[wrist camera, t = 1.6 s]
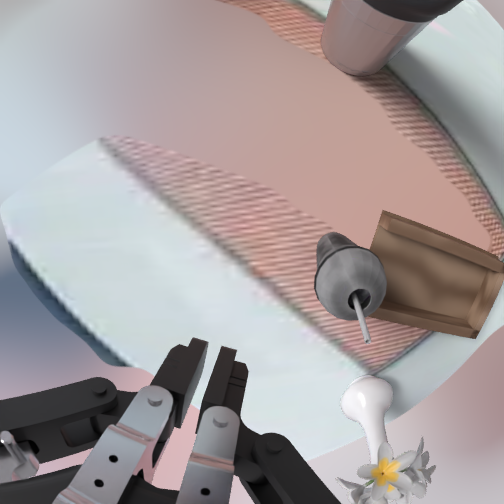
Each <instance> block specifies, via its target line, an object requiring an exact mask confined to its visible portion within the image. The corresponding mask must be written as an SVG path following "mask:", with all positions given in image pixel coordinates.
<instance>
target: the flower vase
mask: <svg viewBox="0 0 504 504" xmlns="http://www.w3.org/2000/svg"><path fill="white" fill-rule="evenodd" d="M392 399H393V390H392V387H391V385H390V384H389V383H388V382H387V381H385V380H384V379H381V378H377V377H375V376H372V375H365V376H361V377H358V378H356V379H354V380H353V381H352V382H351V383H350V384H349V386H348V388H347V389H346V390H345V392H344V393H343V395H342V397H341V399H340V407H341V410H342V412H343V414H344V415H345V416H346V417H347V418H348V419H350V420H352V421H355V422H358V423H359V424H360V425H361V427H362V428H363V430H364V433H365V436H366V440H367V443H368V447H369V452H370V464H367V465H363V466H361V467H360V468H358V470H357V475H358V476H359V477H360V478H362V479H366V480H370V481H369V482H367V483H366V484H364V485H359V484H356V483H351V482H348V481H345V480H343V479H340V478H338V477H337V478H338V479H336V481H337V483H338V484H339V485H340V486H342V487H343V488H344V489H347V490H350V489H352V490H350V491H349V492H348V493H347V498H348V500H349V502H350V503H351V504H388V503H390V502H392V501H394V500H395V501H396V504H411V501H412V499H413V495H415V496H416V497H418V498H423V497H424V496H425V494H426V487H427V483H426V481H427V482H428V483H431V478H430V475H431V474H432V473H433V472H434V470H435V468H436V466H435V465H434V466H432V467H430V468H428V469H427V470H426V469H425V468H426V465H427V463H428V461H429V453H428V451H426V452H424V453H423V454H422V455H421V453H422V451H423V445H424V442H423V437H422V438H421V442H420V445H419V448H418V450H417V453H416V452H415V451H408V452H404V453H403V454H401V455H399V456H398V457H396V458H395V459H394V458H393V450H392V447H391V446H390V444H389V443H388V441H387V436H386V431H385V425H384V416H385V413H386V412H387V410H388V409H389V407H390V405H391V403H392ZM410 464H411V465H410ZM409 465H410V466H409ZM408 466H409V467H408ZM405 471H406V472H405ZM403 472H405V473H403ZM414 474H415V475H414ZM418 481H422V482H423V483H421V482H418ZM373 482H374V483H373ZM371 483H373V486H372V487H371V488H365V487H366V486H368V485H370V484H371Z"/></svg>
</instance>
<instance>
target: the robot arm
mask: <svg viewBox="0 0 504 504" xmlns="http://www.w3.org/2000/svg"><path fill="white" fill-rule="evenodd" d="M461 1H463V0H331V3H330V7H329V11H328V14H327V18H326V22H325V25H324V29H323V33H322V37H321V46H322V50H323V52H324V54H325V56H326V58H327V59H328V60H329V61H330V62H331V63H332V64H333V65H334V66H335V67H337V68H338V69H340V70H341V71H343V72H346V73H348V74H352V75H356V76H366V75H371V74H374V73H376V72H377V71H379V70H380V69H381V68H382V67H383V66H384V65H385V64H386V63H388V62H389V61H390V60H391V59H392V58H393V57H394V56H395V55H396V54H397V53H398V52H399V51H400V50H401V49H403V48H404V47H405V46H406V45H407V44H408V43H409V42H410V41H411V40H412V39H413V38H414V37H415V36H417V35H418V34H419V33H420V32H421V31H422V30H423V29H424V28H425V27H426V26H427V25H428V24H429V23H431V22H432V21H433V20H434V19H435V18H436V17H437V16H439V15H442V14H445V13H446V12H448V11H450V10H451V9H452V8H454V7H455V6H456V5H458V4H459V3H460V2H461ZM207 348H208V342H207V341H204V340H200V339H197V338H194V337H193V338H192V340H191V342H190V344H189V346H188V347H186V346H183V345H180V344H179V345H177V346H175V347H174V348H172V349H171V350H170V352H169V353H168V355H167V357H166V358H165V360H164V362H163V364H162V365H161V367H160V369H159V370H158V372H157V374H156V375H155V377H154V379H153V380H152V382H151V384H150V385H149V386H146V387H143V388H142V389H141V390H140V391H139V392H126V391H119V390H117V389H116V387H115V385H114V384H113V383H112V382H111V381H110V380H108V379H105V378H101V377H95V378H90V379H87V380H83V381H80V382H76V383H73V384H69V385H65V386H61V387H57V388H53V389H49V390H45V391H41V392H37V393H32V394H28V395H23V396H19V397H14V398H9V399H5V400H0V504H229V498H230V493H231V487H232V481H233V475H236V476H238V477H239V479H240V481H241V483H242V485H243V486H244V488H245V489H246V491H247V493H248V494H249V496H250V497H251V499H252V500H253V502H254V503H255V504H341V503H340V502H339V500H338V499H337V498H336V497H335V496H334V495H333V494H332V492H331V491H330V490H329V489H328V488H327V487H326V485H325V484H324V483H323V482H322V481H321V480H320V478H319V477H318V476H317V475H316V474H315V472H314V471H313V470H312V469H311V467H310V466H309V465H308V464H307V463H306V461H305V460H304V459H303V458H302V456H301V455H300V454H299V453H298V451H297V450H296V449H295V447H294V446H293V445H292V444H291V442H290V441H289V440H288V439H287V438H286V437H284V436H283V435H280V434H277V433H265V434H263V435H260V434H258V433H256V432H254V431H252V430H250V429H249V428H247V427H246V426H245V425H244V423H243V422H242V420H241V416H240V413H241V408H242V403H243V398H244V393H245V387H246V383H247V378H248V369H247V366H246V364H245V363H241V362H237V361H234V360H235V356H236V352H237V350H235V349H231V348H228V347H224V346H222V347H221V349H220V352H219V355H218V358H217V360H216V363H215V366H214V369H213V372H212V374H211V377H210V380H209V383H208V386H207V388H206V391H205V394H204V397H203V400H202V404H201V409H200V414H199V419H198V423H197V428H196V432H195V433H196V434H197V436H196V440H195V443H194V446H193V450H192V453H191V455H190V458H189V461H188V464H187V467H186V471H185V474H184V477H183V481H182V484H181V488H180V491H177V490H168V489H160V488H157V487H155V486H153V485H151V483H152V480H153V476H154V472H155V470H156V468H157V466H158V463H159V461H160V459H161V457H162V455H163V452H164V450H165V448H166V446H167V444H168V442H169V439H170V435H171V434H172V431H173V429H174V427H176V428H181V425H182V423H183V420H184V418H185V415H186V413H187V410H188V408H189V405H190V403H191V400H192V398H193V395H194V393H195V390H196V388H197V385H198V383H199V380H200V378H201V375H202V371H203V368H204V363H205V358H206V353H207ZM91 448H93V450H92V451H91V453H90V454H89V456H88V457H87V459H86V460H85V462H84V463H83V464H82V465H76V466H72V467H69V468H65V469H62V470H58V471H55V472H51V473H47V474H43V475H39V476H35V475H36V473H37V471H38V469H39V464H41V463H45V462H49V461H52V460H56V459H59V458H63V457H66V456H69V455H73V454H76V453H79V452H82V451H85V450H88V449H91ZM31 476H35V477H31ZM29 477H31V478H29Z"/></svg>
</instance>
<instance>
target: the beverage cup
mask: <svg viewBox="0 0 504 504" xmlns="http://www.w3.org/2000/svg"><path fill="white" fill-rule="evenodd" d="M386 286H387V280H386V275H385V270H384V267H383V264H382V263H381V261H380V259H379V258H378V256H377V255H375V254H374V253H373V252H372V251H370V250H369V249H366V248H363V247H360V246H357V245H356V244H355V243H353V242H352V241H351V240H349V239H348V238H347V237H345V236H344V235H342V234H339V233H336V232H331V233H328V234H326V235H324V236H323V237H322V238H321V239H320V240H319V242H318V245H317V272H316V275H315V280H314V289H315V292H316V295H317V298H318V300H319V301H320V302H321V304H322V305H323V306H324V307H325V309H326V310H327V311H328V312H329V313H331V314H332V315H334V316H335V317H337V318H340V319H344V320H359V323H360V326H361V330H362V333H363V337H364V341H365V343H366V344H369V343H370V342H371V338H370V335H369V331H368V328H367V325H366V322H365V317H367V316H369V315H370V314H372V313H373V312H375V311H376V309H377V308H378V307H379V306H380V305H381V303H382V301H383V299H384V296H385V294H386Z"/></svg>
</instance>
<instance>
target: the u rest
mask: <svg viewBox="0 0 504 504" xmlns="http://www.w3.org/2000/svg"><path fill="white" fill-rule="evenodd" d="M370 251H372V252H373V253H374V254H375V255H377V256H378V258H379V259H380V261H381V263H382V264H383V267H384V270H385V275H386V280H387V286H386V294H385V296H384V299H383V301H382V303H381V305H380V306H379V307H378V308H377V309H376V311H375V312H373V313H372V314H370V315H369V316H368V317H372V318H377V319H381V320H386V321H390V322H395V323H399V324H404V325H408V326H413V327H418V328H422V329H427V330H432V331H437V332H442V333H447V334H452V335H457V336H462V337H468V338H473V339H476V337H477V335H478V334H479V332H480V330H481V328H482V326H483V324H484V322H485V320H486V318H487V316H488V314H489V312H490V310H491V308H492V306H493V304H494V302H495V299H496V297H497V295H498V293H499V290H500V288H501V286H502V283H503V281H504V263H503V262H502V261H500V260H498V256H496V255H494V254H492V253H489V252H487V251H485V250H483V249H481V248H478V247H476V246H474V245H471V244H469V243H467V242H465V241H462V240H460V239H457V238H455V237H453V236H450V235H448V234H445V233H443V232H440V231H438V230H435V229H433V228H430V227H428V226H425V225H423V224H420V223H417V222H415V221H412V220H409V219H407V218H404V217H401V216H398V215H396V214H393V213H390V212H387V211H384V210H383V211H382V214H381V217H380V220H379V224H378V226H377V229H376V233H375V235H374V238H373V241H372V244H371V247H370Z"/></svg>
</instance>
